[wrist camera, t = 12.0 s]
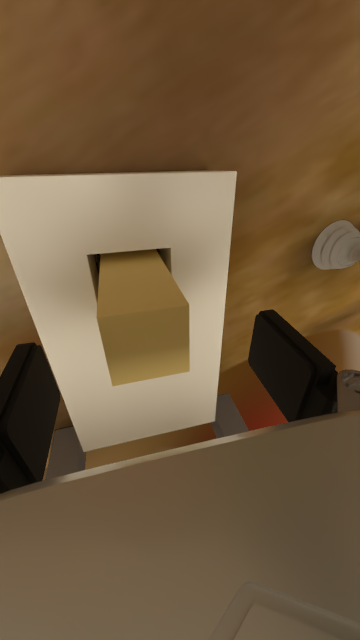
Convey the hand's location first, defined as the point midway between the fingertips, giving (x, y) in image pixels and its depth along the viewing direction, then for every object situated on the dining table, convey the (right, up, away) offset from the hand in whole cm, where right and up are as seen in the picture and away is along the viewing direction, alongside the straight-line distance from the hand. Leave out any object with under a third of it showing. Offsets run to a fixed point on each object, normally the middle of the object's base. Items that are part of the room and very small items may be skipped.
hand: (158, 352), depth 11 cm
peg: (-3, +6, +11) cm, 13 cm away
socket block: (-3, +2, +13) cm, 14 cm away
